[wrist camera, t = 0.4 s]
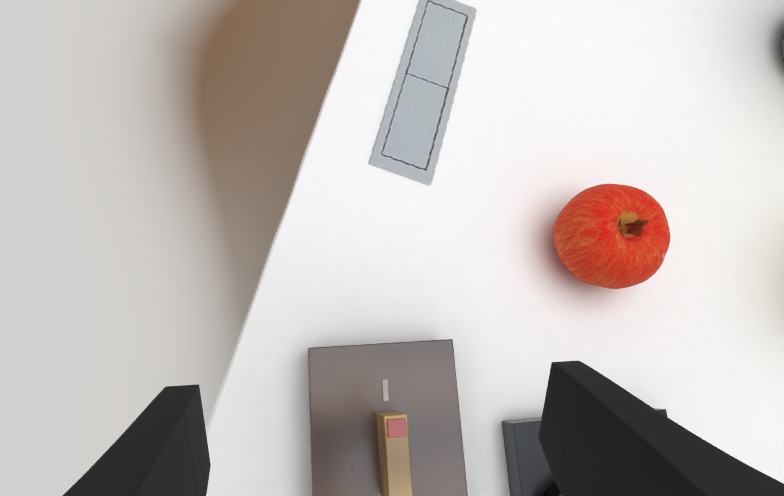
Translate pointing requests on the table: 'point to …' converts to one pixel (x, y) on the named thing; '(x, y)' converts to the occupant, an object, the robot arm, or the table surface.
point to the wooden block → (394, 454)
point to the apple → (612, 236)
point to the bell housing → (529, 459)
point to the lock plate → (377, 395)
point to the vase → (782, 47)
